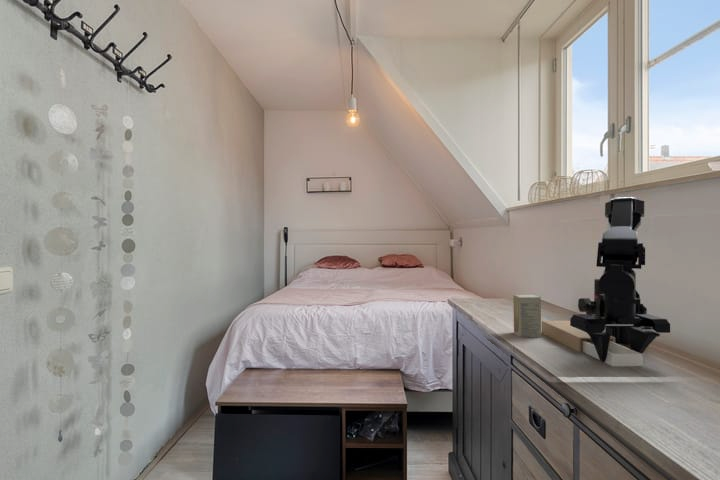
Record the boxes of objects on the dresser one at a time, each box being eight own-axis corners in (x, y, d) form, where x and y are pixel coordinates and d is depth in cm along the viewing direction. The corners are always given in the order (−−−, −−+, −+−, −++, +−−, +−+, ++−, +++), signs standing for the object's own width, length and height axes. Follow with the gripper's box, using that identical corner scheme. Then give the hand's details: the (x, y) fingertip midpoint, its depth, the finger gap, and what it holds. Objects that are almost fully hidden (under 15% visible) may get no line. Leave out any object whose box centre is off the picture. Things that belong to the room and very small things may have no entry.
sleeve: (571, 335, 96) (571, 320, 96) (615, 355, 80) (615, 337, 80) (541, 335, 96) (541, 320, 96) (579, 355, 80) (579, 337, 80)
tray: (589, 343, 87) (589, 332, 87) (642, 367, 71) (642, 354, 71) (564, 343, 87) (564, 332, 87) (611, 367, 71) (612, 354, 71)
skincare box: (535, 335, 96) (535, 294, 96) (541, 340, 91) (542, 297, 91) (512, 335, 96) (512, 294, 96) (518, 339, 92) (518, 296, 92)
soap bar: (586, 344, 86) (586, 337, 86) (601, 350, 81) (601, 343, 81) (575, 344, 86) (575, 337, 86) (589, 350, 81) (589, 343, 81)
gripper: (630, 286, 82) (629, 348, 82) (556, 286, 81) (555, 348, 82) (673, 294, 70) (672, 366, 71) (587, 294, 70) (586, 366, 70)
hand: (618, 361), depth 74 cm, fingers closed on tray, 7 cm apart
